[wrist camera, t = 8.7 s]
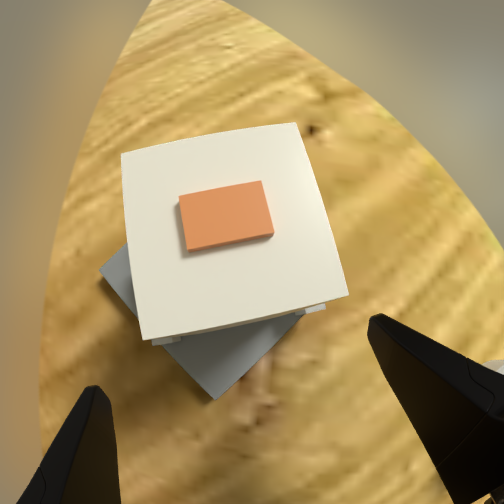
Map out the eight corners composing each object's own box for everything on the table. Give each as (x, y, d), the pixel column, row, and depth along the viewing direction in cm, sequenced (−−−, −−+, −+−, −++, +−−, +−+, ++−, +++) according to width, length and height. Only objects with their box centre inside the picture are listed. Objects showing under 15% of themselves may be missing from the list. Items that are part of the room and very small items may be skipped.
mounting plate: (219, 399, 17) (216, 418, 13) (105, 273, 18) (76, 258, 14) (337, 280, 19) (364, 266, 15) (222, 168, 20) (221, 132, 16)
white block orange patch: (277, 316, 17) (353, 293, 6) (198, 333, 17) (139, 340, 6) (258, 238, 18) (295, 112, 7) (182, 253, 18) (118, 143, 7)
